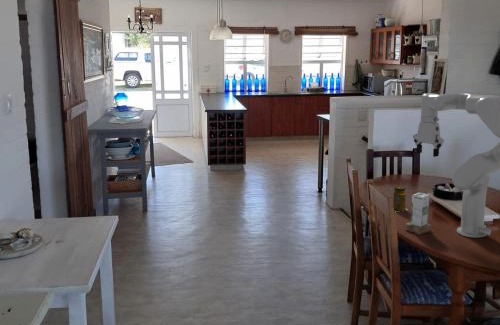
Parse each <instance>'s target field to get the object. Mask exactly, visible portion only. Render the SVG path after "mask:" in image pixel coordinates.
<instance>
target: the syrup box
mask: <svg viewBox="0 0 500 325" xmlns="http://www.w3.org/2000/svg"><path fill="white" fill-rule="evenodd" d="M410 205H411V206H410V224H411V225H415V226H419V227H422V226H424V225H427V224H429V222H428V220H429V209H430V206H429V205H430V194H428V193H424V192H417V193H414V194H412V195H411V204H410Z"/></svg>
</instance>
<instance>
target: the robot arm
mask: <svg viewBox="0 0 500 325" xmlns="http://www.w3.org/2000/svg"><path fill="white" fill-rule="evenodd" d="M420 101H421V106H420V108H421V109H420V122H419V124H418V127H417V133H415V134H413V135H412V138H413V141H414V144H415V146H416V154H417V155H418V154H422V153H423V144H430V145H433V147H434V148H433V149H432V150H433V151H432V152H433V153H432V154H433V155H432V156H433V158H435V157H439V155H440V148H442V146H443V144H444V143H445V139H444V138H442V137H441V128H440V123H439V121H440V118H439V117H438V115H439V113H438V112H442V111H449V110H460V111H461V110H462V111H464V110H465V111H466V112H467V114H469V115H470V114H471V115H477V116H478V117H479V120H481V122H482V123H483V124H484V125H485V126H486V127H487V128H488V130H490V131H491V133H492V134H493V135H494V136H496V138H497V137H498V138H499V139H500V95H497V94H496V95H493V94H492V95H491V94H474V93H464V92H463V93H461V92H459V93H458V92H449V93H448V92H447V93H441V94H437V93H433V92H430V93H427V92H426V93H422V95H421V100H420ZM499 171H500V141H499V142H498V143H497V144H496V145H495V146H493V147H492V148H491V149H490V150H489V149H488V151H484V152H479V153H477V154H474V155H473V156H471V157H469V158H468V159H467V160H466V161H465V162H464V163H463V164H462V165H460V166H459V167H458V168H457V169H456V170H455V171H454V173H453V175H452V184H453V186H454V187H455V188H456V189H458V190H461V191H463V192H462V200H461V218H460V219H461V220H460V226H458V227H457V228H456V233H457V234H458V235H461V236H463V237H467V238H473V239H474V238H475V239H478V238H484V237H487V236H491V232H492V230H491V229H489V228H487V225H486V224H485V212H486V211H485V210H486V201H487V200H486V198H487V191H488V186H489V183H490V178H491V177H490V175H491V174H495V173H498V172H499Z"/></svg>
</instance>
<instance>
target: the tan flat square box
mask: <svg viewBox="0 0 500 325" xmlns="http://www.w3.org/2000/svg"><path fill="white" fill-rule="evenodd" d="M404 227H405V229H406V230H405V229H404V230H405V231H407V230H409V231H408V232H410V231H412V232H411V233H413V232H414V233H413V234H416V235H420V236H421V235H422V234H425V233H429V232H431V227H432V224H430V223H428V224H427V225H424V226H422V227H419V226H415V225H411V224H410V222H406V223H405V226H404Z"/></svg>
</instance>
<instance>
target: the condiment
mask: <svg viewBox="0 0 500 325" xmlns="http://www.w3.org/2000/svg"><path fill="white" fill-rule="evenodd" d="M406 195H407V194H406V188H405V187H404V186H395V187H394V192H393V198H392V199H393V203H392V208H394V210H395V212H394V213H396V211H402V212H405V211H404V210H405V209H406V211H409V209H408V208H406Z"/></svg>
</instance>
